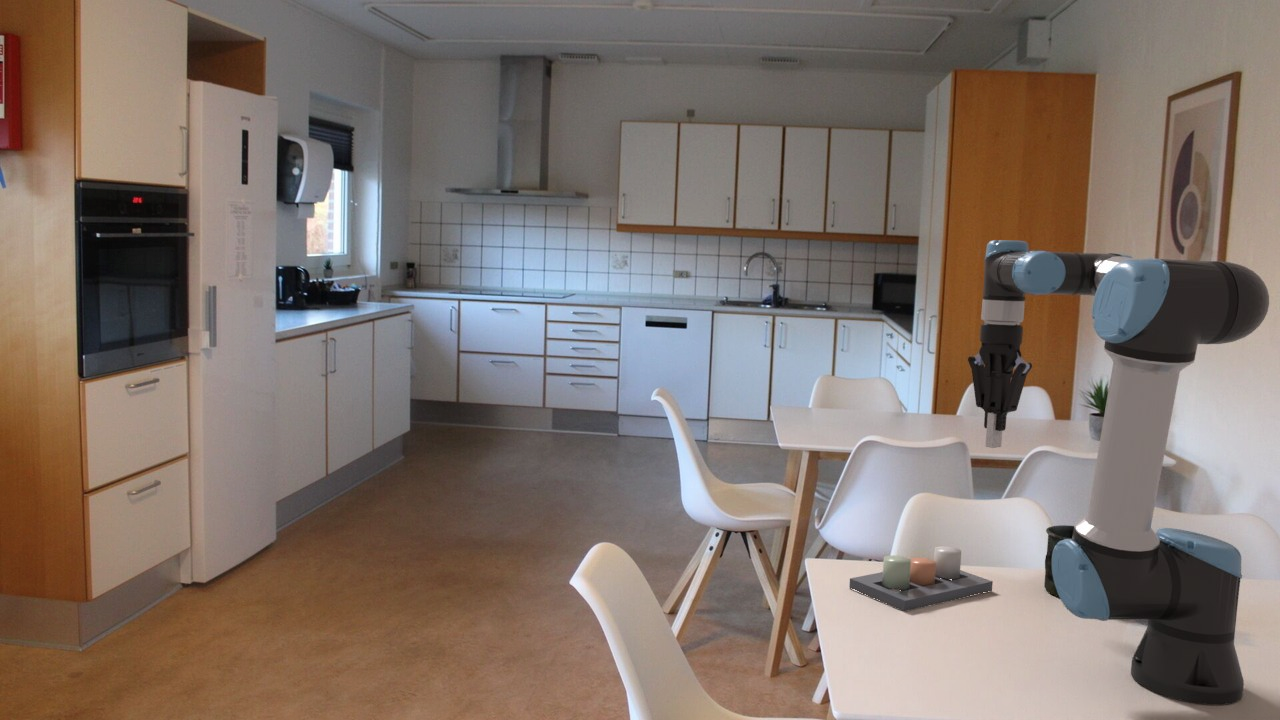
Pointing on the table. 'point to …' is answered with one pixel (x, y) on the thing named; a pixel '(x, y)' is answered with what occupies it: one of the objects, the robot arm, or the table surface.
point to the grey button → (947, 562)
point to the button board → (921, 590)
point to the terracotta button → (922, 571)
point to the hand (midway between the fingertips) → (993, 446)
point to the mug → (1053, 538)
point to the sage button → (896, 572)
